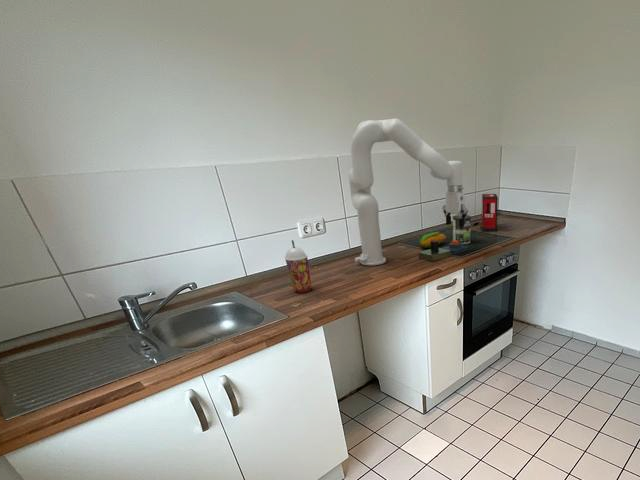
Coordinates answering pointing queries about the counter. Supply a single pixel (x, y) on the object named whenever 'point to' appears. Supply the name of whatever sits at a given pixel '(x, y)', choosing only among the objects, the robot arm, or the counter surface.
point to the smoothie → (298, 269)
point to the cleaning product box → (489, 212)
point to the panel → (434, 254)
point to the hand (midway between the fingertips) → (455, 225)
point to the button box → (456, 248)
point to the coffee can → (462, 229)
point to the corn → (431, 236)
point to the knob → (434, 246)
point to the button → (455, 242)
